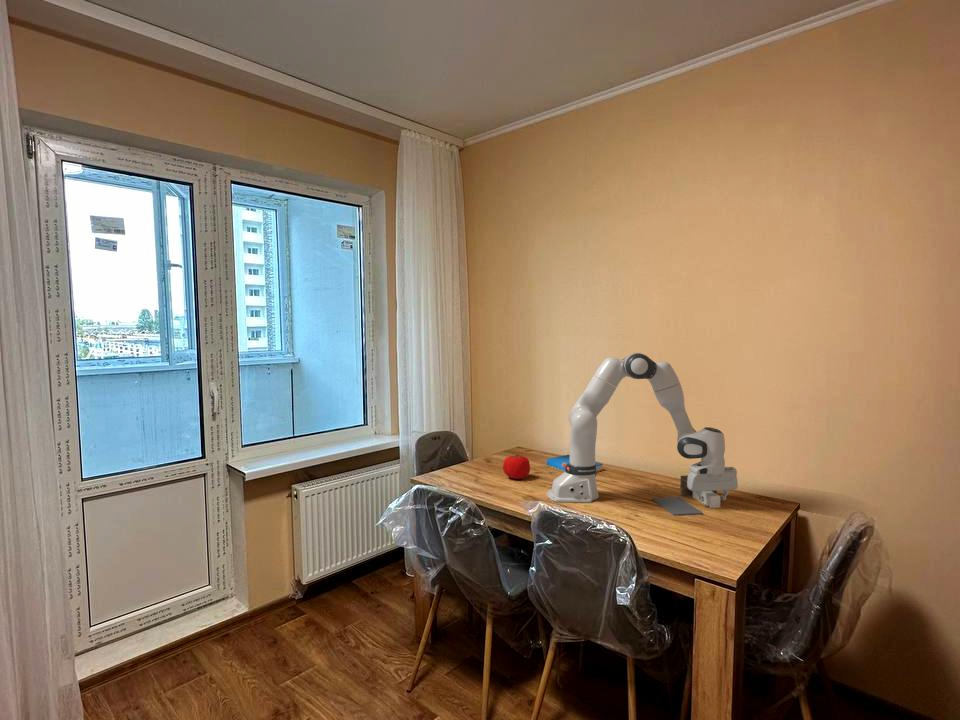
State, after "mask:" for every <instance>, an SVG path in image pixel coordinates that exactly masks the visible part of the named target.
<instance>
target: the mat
mask: <svg viewBox="0 0 960 720" xmlns="http://www.w3.org/2000/svg"><path fill="white" fill-rule="evenodd" d="M651 500H652V501H653V500H654V502H655V503H656V504H657V505H659V506H660V507H661V506H662V509H664V510H665V509H666V511H667V512H668V513H669V512H670V514H671V515H672V516H673V515H674V516H675V515H678V516H695V515H697V514H700V515H704V512H702V511H701V510H699V509H698V508H696V507H695V506H694V505H692V504H690V503H689V502H687V501H686V500H684V499H682V498H681V497H679V496H674V497H673V496H672V497H671V496H669V497H655V498H654V497H652V498H651Z"/></svg>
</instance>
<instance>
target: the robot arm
mask: <svg viewBox="0 0 960 720" xmlns="http://www.w3.org/2000/svg"><path fill="white" fill-rule="evenodd" d="M677 375H678V374H677V373H676V372H675V370H674V368H673V367H672V365H671V364H670V363H669V362H668V361H658V362H657V361H656V362H655V361H654V360H653V359H652V358H650V357H649V356H647V355H646V354H643V353H641V352H635V353H634V352H633V353H631V354H629V355H628V356H626V357H624V358H623V359H619V358H617V357H614V356H611V357H610V356H609V357H606V358H605V359H604V360H603V361H602V363H600V365H599V366H598V368H597V369H596V371H595V372H594V374H593V375H592V378H591V379H590V381H589V382H588V384H587V386H586V388H585V389H584V391H583V392H582V393H581V395H580V396H579V398H578V399H577V400H576V402H575V403H574V405H573V407H572V408H571V410H570V411H569V413H568V422H569V424H570V436H569V437H570V439H569V454H570V462H569V463H568V464H566V463H563V464H562V466H563V468H565V471H564V472H562V473H561V474H560V475H558V476H557V477H556V478H554V479H553V482H552V486H551V489H547V490H546V496H547V497H548V499H549V500H551V501H553V502H557V503H558V502H559V503H560V502H561V503H592V502H593V501H595V500H597V499H598V498H600V495H599V492H598V487H597V480H596V479H597V478H596V477H597V473H598V472H597V469H596V464H595V462H596V442H597V435H598V418H597V417H598V416H599V415H600V413H601V412H602V411H603V408H605V407H606V406H607V405H608V403H609V402H610V399H611V398H612V396H613V395H614V393H615V392H616V389H617V388H618V386H619V384H620V382H622V380H623V379H624V378H626V377H629V378H631V379H633V380H648V381H649V384H650V385H651V388H652V391H653V393H654V395H655V397H656V400H657V402H658V404H660V406H661V407H662V408H664V409H665V410H666V411H668V413H669V414H670V416H671V418H672V421H673V423H674V425H675V429H676V432H677V442H676V443H677V444H676V446H677V447H676V450H677V452H678V454H679V455H680V456H681V457H683V458H685V459H689V460H691V459H693V460H695V459H700V461H699V462H695V463H693V464H690V465H689V466H688V469H689V472H688V474H687V475H688V479H687V487H688V489H689V490H691V491H693V492H694V491H696V493H697V495H698V496H699V500H698V501H699V502H700V503H702V502H703V501H704V497H703V496H701V494H702V491H716V490H717V491H722V494H720V495H719V496H720V501H726V500H727V496H728V495H729V493H730V491H732V490H733V491H734V490H737V489H738V487H739V486H738V485H739V484H738V477H737V476H738V471H737V469H736V467H734V466H726V465H725V463H726V460H725V459H726V458H725V453H726V439H725V434H724V432H722V431H721V430H720V429H718V428H714V427H711V426H710V427H708V426H707V427H705V426H704V427H703V428H702V429H700V430H698V431H697V430H695V428H694V427H693V425H692V423H691V420H690V418H689V415H688V414H687V410H686V406H685V396H684V391H683V388H682V385H681V382H680V380H679V377H678V376H677ZM700 493H701V494H700Z"/></svg>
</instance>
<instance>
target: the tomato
mask: <svg viewBox="0 0 960 720" xmlns="http://www.w3.org/2000/svg"><path fill="white" fill-rule="evenodd" d="M502 470H503V472H504V474H505V475H506V476H507V477H508V478H511V479H514V480H521V479H525V478H526V477H528V476H529V474H530V472H531V464H530V461H529V459H528V458H527V457H526V456H524V455H521V454H515V455H510V456H506V458H505V459H504V461H503V463H502Z"/></svg>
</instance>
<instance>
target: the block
mask: <svg viewBox="0 0 960 720" xmlns="http://www.w3.org/2000/svg"><path fill="white" fill-rule="evenodd" d="M700 494H701V493H700ZM701 496H703V497H704V501H703V502H701V503H702V504H703V503H704V505H705V504H706V505H705V506H707V507H708V506H709V507H708V508H710V509H717V508H719V507H720V508H721V499H720V498H721V497H720V495H719V494H718V493H717V494H716V493H714V492H712V491H702V494H701ZM692 497H693V499H695V498H696V499H695V500H697V499H698V500H697V501H699V496H698V495H697V493H696V491H694V492H693V495H692ZM720 508H719V509H720Z"/></svg>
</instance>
